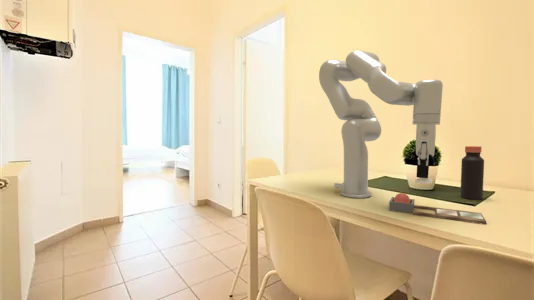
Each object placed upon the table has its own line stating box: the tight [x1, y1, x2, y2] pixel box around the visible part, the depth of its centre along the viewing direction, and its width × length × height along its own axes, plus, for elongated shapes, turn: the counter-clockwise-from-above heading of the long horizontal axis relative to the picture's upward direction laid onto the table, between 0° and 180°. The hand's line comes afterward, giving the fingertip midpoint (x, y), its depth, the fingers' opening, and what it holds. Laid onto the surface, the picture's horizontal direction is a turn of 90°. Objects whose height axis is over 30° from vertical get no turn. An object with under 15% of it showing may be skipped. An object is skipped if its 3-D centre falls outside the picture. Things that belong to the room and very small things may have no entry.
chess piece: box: [414, 154, 433, 185], centre depth 85 cm, size 5×5×10 cm
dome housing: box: [388, 196, 416, 215], centre depth 88 cm, size 7×7×3 cm
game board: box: [412, 204, 487, 225], centre depth 82 cm, size 18×9×1 cm, turn 58°
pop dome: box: [394, 192, 411, 203], centre depth 88 cm, size 5×5×5 cm
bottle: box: [460, 145, 485, 201], centre depth 101 cm, size 7×7×20 cm
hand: (422, 176), depth 85 cm, fingers closed on chess piece
